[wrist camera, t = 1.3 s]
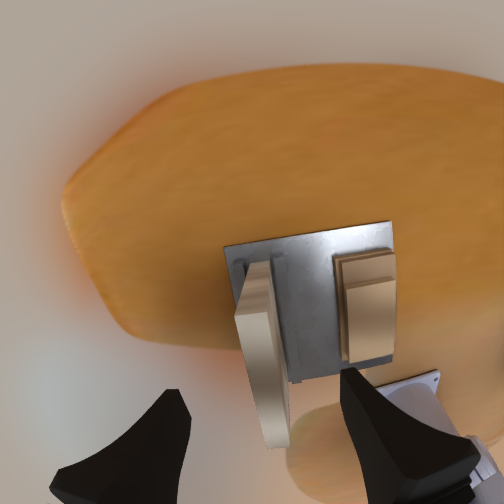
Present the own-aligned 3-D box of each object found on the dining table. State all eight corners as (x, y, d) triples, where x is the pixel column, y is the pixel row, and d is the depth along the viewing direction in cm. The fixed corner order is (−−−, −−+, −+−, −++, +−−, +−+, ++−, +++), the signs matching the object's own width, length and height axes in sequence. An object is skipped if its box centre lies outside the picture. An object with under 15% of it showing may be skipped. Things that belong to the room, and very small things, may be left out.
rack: (390, 359, 23) (397, 371, 21) (254, 382, 25) (252, 396, 23) (389, 220, 21) (399, 224, 19) (224, 246, 22) (219, 252, 20)
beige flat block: (287, 368, 24) (290, 446, 15) (270, 371, 24) (267, 448, 15) (269, 260, 22) (266, 311, 13) (250, 263, 22) (234, 316, 13)
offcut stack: (389, 345, 23) (398, 359, 20) (340, 355, 23) (346, 371, 21) (388, 247, 21) (400, 254, 18) (333, 256, 21) (339, 265, 19)
